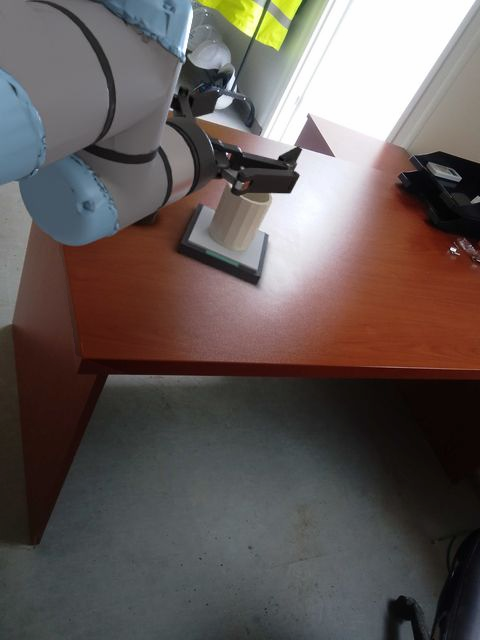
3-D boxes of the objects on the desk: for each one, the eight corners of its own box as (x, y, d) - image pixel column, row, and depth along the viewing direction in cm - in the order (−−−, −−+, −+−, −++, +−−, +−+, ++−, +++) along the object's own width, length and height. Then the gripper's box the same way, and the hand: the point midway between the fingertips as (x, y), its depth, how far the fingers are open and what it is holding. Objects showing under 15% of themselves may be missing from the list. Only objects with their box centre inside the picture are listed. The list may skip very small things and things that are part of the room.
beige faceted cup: (204, 238, 80) (224, 189, 74) (213, 216, 86) (232, 169, 80) (247, 257, 82) (270, 210, 75) (252, 234, 88) (274, 189, 81)
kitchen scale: (177, 251, 79) (181, 240, 77) (195, 211, 90) (199, 200, 88) (256, 285, 82) (261, 275, 80) (265, 242, 93) (270, 232, 91)
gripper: (63, 129, 49) (173, 105, 65) (251, 260, 48) (316, 203, 64) (72, 56, 44) (188, 49, 60) (282, 200, 43) (344, 154, 59)
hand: (254, 129), depth 62 cm, fingers open, 13 cm apart
